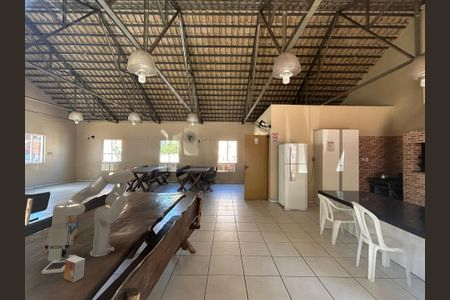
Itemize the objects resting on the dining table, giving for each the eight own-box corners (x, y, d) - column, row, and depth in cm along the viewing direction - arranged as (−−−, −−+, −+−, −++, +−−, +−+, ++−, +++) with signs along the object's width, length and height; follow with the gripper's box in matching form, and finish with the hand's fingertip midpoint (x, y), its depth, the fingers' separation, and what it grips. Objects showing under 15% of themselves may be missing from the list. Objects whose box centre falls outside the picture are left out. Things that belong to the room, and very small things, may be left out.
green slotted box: (64, 255, 126) (65, 245, 126) (60, 260, 120) (61, 249, 120) (53, 255, 124) (54, 245, 125) (47, 260, 119) (48, 249, 119)
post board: (57, 258, 134) (58, 243, 134) (75, 257, 137) (76, 242, 137) (41, 273, 117) (43, 256, 117) (62, 272, 119) (63, 255, 120)
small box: (63, 278, 113) (65, 259, 114) (74, 273, 118) (75, 255, 119) (73, 282, 110) (74, 262, 111) (83, 277, 116) (85, 258, 116)
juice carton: (68, 244, 154) (71, 211, 155) (57, 244, 153) (59, 211, 154) (76, 237, 166) (79, 207, 167) (66, 237, 165) (68, 207, 166)
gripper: (79, 223, 129) (76, 252, 128) (45, 223, 124) (42, 254, 124) (73, 227, 122) (70, 258, 121) (38, 228, 117) (35, 260, 116)
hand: (56, 256), depth 122 cm, fingers closed on green slotted box, 6 cm apart
